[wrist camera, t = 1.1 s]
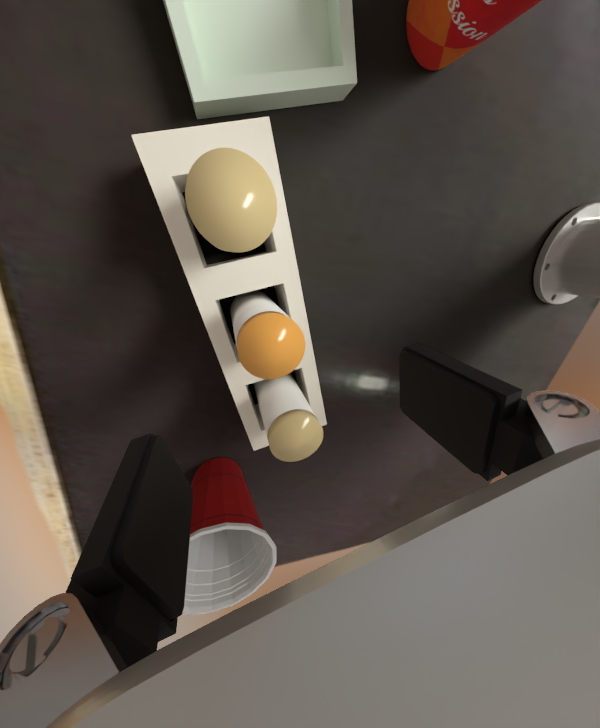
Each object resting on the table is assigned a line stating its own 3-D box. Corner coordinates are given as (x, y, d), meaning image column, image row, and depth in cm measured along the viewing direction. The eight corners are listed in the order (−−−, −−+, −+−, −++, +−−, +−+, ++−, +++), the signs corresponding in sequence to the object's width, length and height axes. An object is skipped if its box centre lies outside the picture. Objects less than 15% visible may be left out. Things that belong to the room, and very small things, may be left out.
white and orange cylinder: (267, 284, 25) (298, 306, 15) (278, 326, 27) (310, 368, 17) (224, 295, 24) (227, 325, 15) (238, 337, 26) (248, 387, 17)
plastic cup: (267, 439, 33) (289, 528, 22) (252, 499, 36) (266, 600, 26) (175, 438, 29) (150, 545, 18) (169, 506, 33) (145, 627, 22)
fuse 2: (285, 355, 29) (318, 408, 19) (293, 387, 31) (326, 450, 21) (247, 367, 28) (262, 428, 18) (258, 398, 30) (276, 469, 20)
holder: (258, 144, 20) (269, 116, 16) (312, 400, 32) (327, 424, 28) (151, 161, 19) (131, 134, 15) (248, 422, 31) (253, 451, 27)
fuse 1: (244, 190, 21) (264, 140, 12) (258, 245, 23) (285, 242, 14) (192, 199, 21) (168, 155, 11) (211, 256, 23) (205, 260, 13)
